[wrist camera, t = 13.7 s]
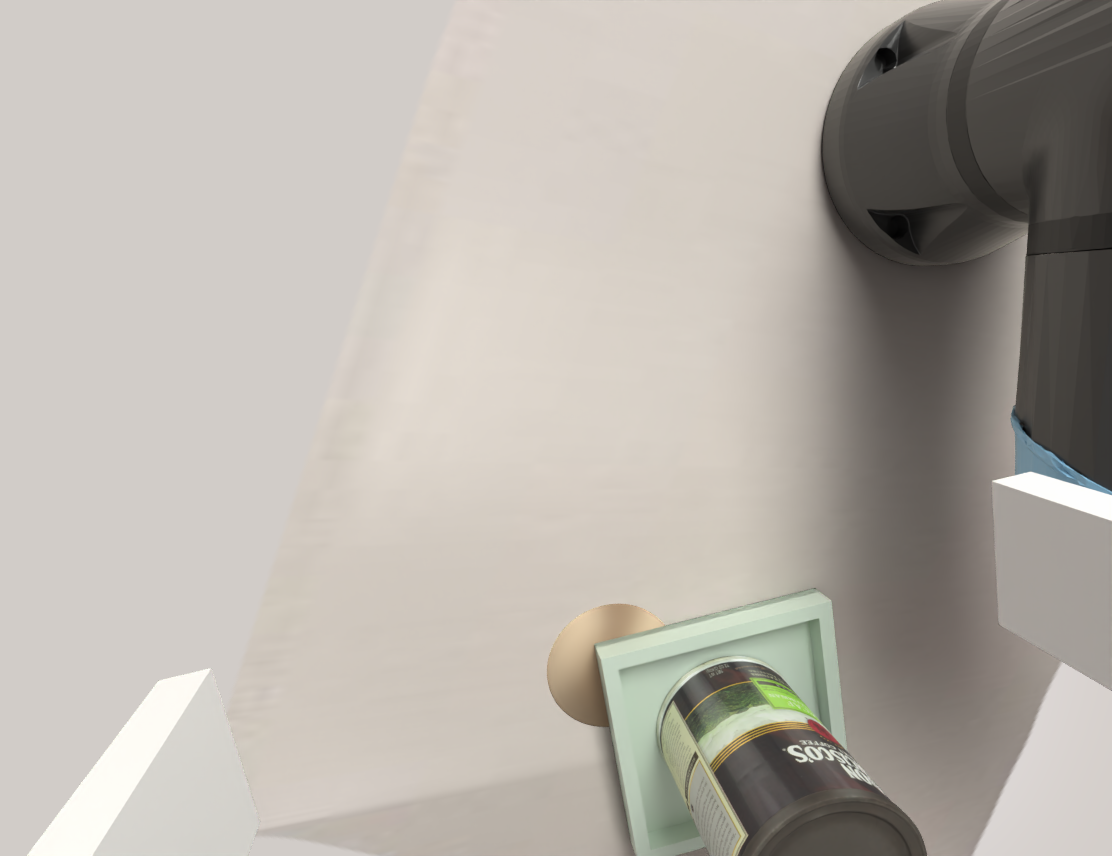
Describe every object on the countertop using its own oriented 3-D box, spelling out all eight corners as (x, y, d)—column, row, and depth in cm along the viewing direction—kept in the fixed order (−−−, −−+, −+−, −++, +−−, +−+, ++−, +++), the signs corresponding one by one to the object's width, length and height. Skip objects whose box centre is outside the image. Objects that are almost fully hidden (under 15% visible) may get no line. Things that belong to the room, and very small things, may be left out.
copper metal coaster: (664, 587, 47) (666, 590, 46) (682, 703, 49) (685, 707, 48) (535, 618, 46) (536, 622, 45) (559, 736, 48) (560, 741, 47)
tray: (815, 588, 48) (831, 600, 46) (836, 783, 51) (852, 803, 49) (594, 643, 46) (600, 659, 44) (631, 843, 49) (639, 866, 47)
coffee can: (706, 629, 47) (815, 766, 33) (820, 692, 49) (966, 844, 35) (625, 753, 47) (699, 937, 34) (741, 808, 50) (854, 1002, 36)
